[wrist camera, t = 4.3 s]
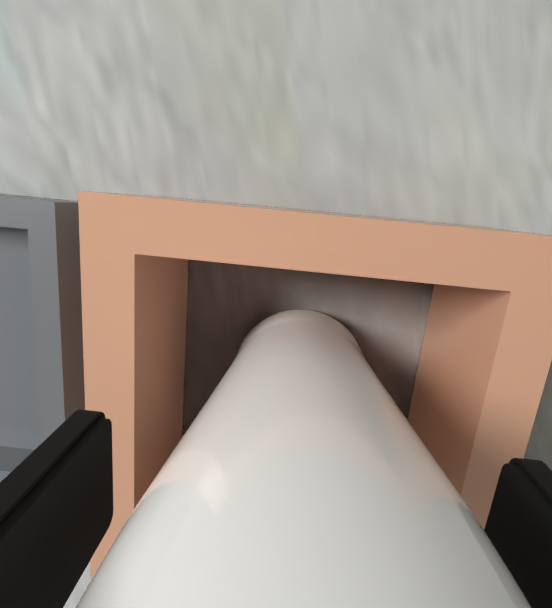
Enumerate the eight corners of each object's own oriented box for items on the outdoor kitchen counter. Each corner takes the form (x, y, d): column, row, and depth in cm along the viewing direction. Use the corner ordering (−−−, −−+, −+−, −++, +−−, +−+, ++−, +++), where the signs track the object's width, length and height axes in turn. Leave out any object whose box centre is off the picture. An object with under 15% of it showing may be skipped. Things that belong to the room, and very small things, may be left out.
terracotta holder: (485, 227, 15) (586, 239, 10) (422, 508, 18) (473, 632, 13) (153, 195, 16) (77, 191, 10) (149, 476, 19) (91, 583, 13)
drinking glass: (357, 268, 16) (1015, 983, 1) (394, 414, 17) (896, 1507, 3) (200, 312, 17) (-467, 1051, 2) (249, 448, 18) (50, 1431, 4)
